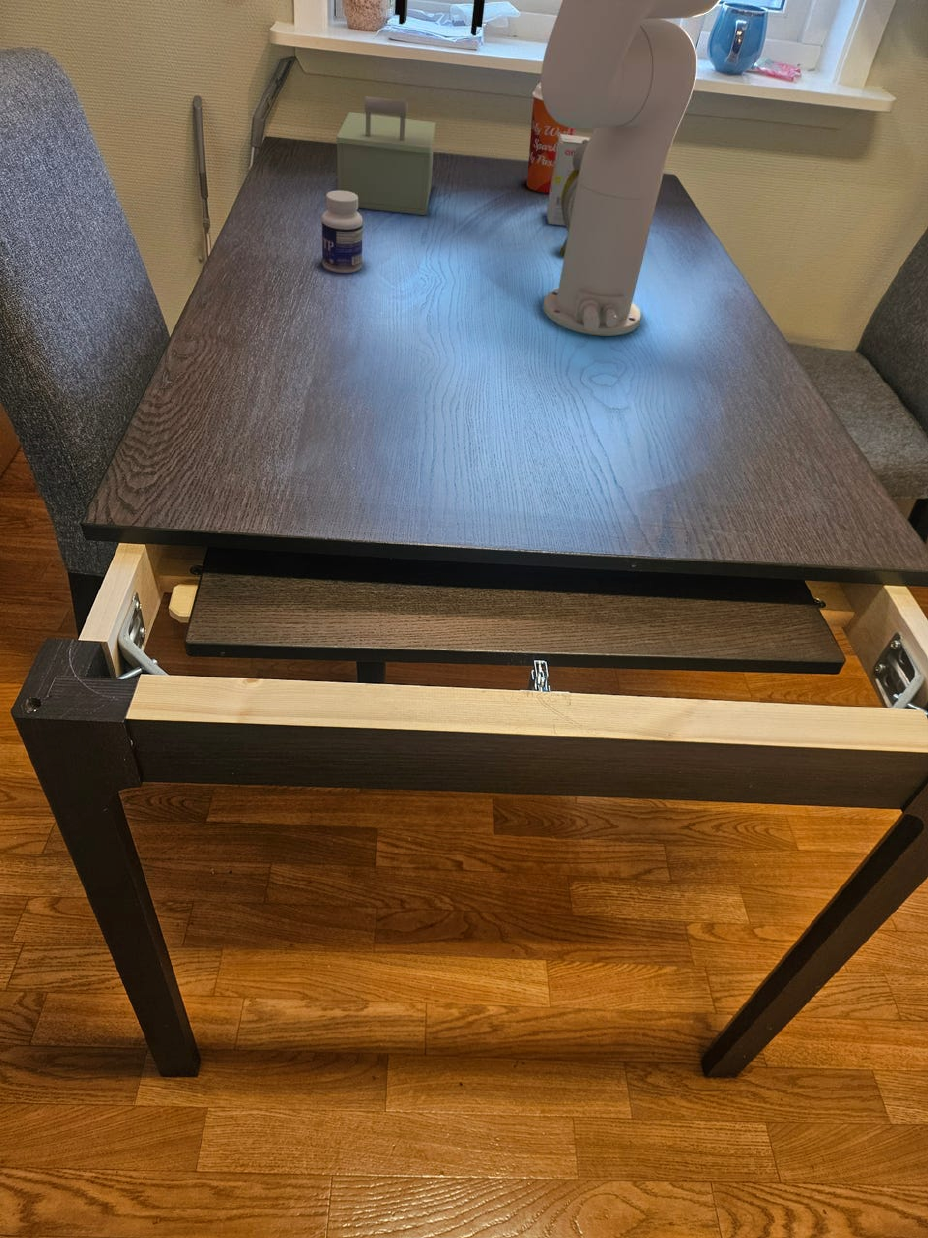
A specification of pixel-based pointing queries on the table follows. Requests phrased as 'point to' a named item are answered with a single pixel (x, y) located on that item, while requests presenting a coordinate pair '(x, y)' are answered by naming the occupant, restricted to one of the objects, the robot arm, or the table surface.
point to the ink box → (561, 175)
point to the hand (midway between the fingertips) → (438, 27)
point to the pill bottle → (342, 233)
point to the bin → (386, 177)
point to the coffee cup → (543, 145)
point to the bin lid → (387, 127)
